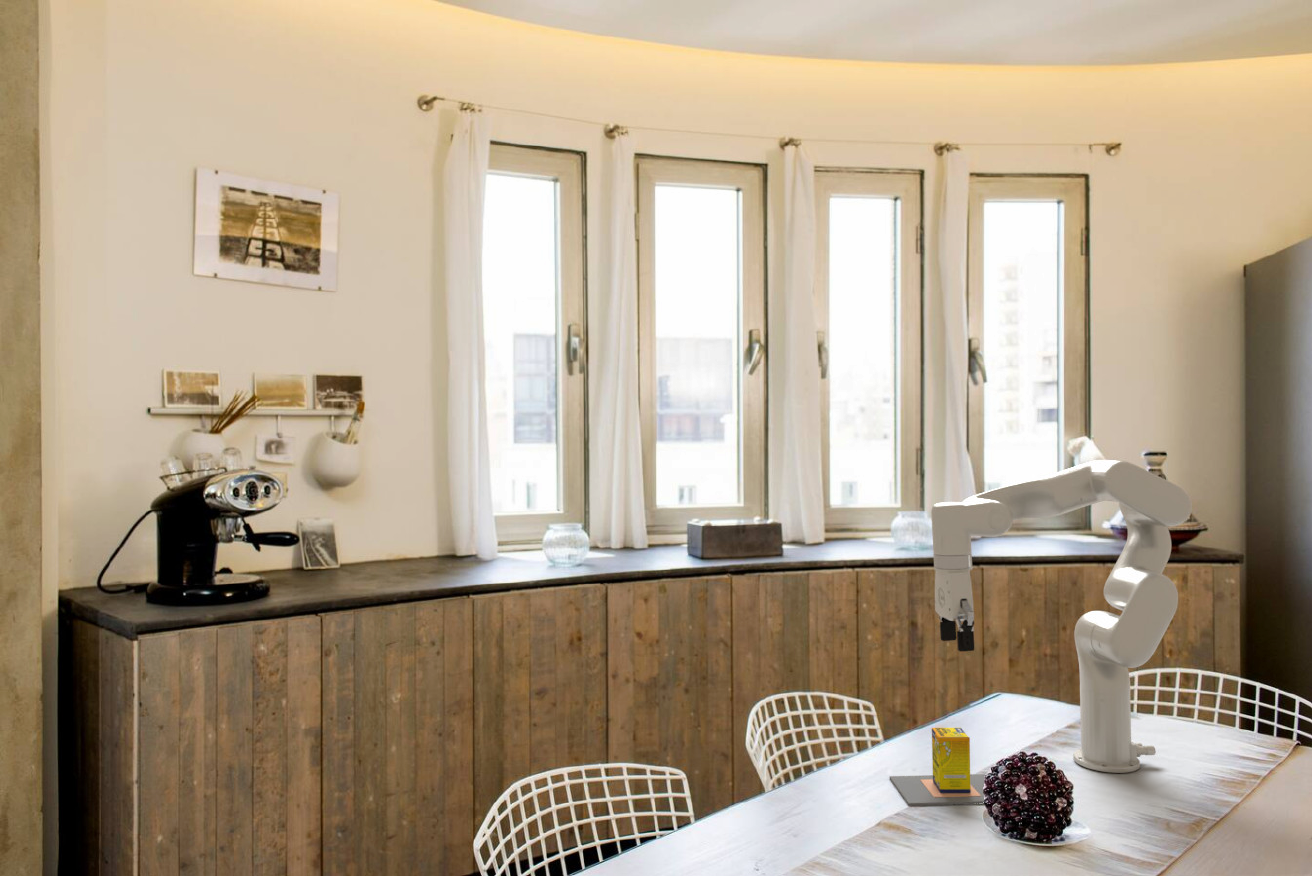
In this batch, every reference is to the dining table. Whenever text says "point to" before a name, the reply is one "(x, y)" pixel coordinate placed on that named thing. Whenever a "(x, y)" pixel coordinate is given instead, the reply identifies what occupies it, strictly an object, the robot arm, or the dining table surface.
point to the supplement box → (951, 760)
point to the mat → (936, 791)
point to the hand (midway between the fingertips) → (957, 645)
